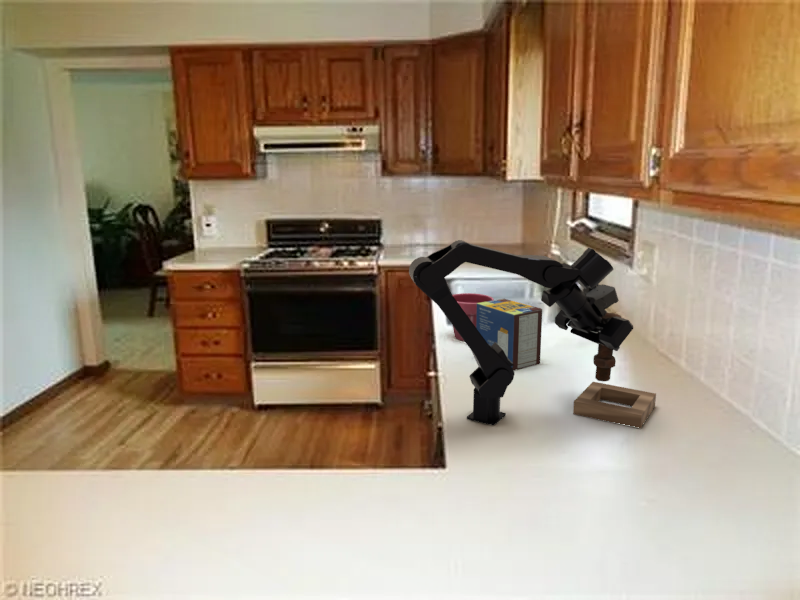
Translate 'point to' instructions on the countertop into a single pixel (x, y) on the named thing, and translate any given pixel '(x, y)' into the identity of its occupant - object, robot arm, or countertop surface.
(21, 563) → the countertop surface
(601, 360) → the bolt
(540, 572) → the countertop surface
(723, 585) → the countertop surface
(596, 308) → the robot arm
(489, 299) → the plant pot
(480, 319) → the protein box
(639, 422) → the block
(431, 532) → the countertop surface
